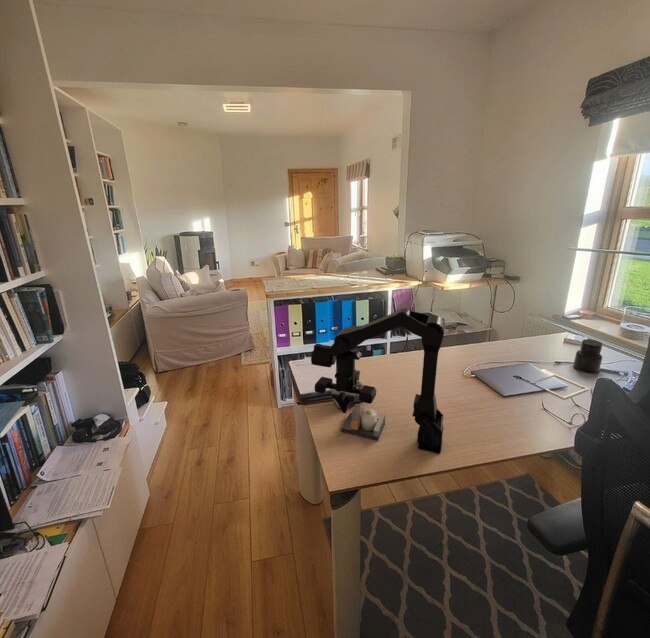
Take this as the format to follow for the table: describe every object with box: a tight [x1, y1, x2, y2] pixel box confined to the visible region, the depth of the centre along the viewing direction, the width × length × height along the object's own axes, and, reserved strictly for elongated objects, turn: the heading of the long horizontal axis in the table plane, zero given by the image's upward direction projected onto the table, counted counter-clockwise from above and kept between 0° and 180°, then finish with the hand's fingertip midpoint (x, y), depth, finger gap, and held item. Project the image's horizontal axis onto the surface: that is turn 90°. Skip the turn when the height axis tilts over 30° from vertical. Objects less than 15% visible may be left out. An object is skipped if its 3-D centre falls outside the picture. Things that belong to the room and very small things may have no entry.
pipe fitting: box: [331, 380, 364, 409], centre depth 126 cm, size 12×8×10 cm
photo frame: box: [540, 368, 590, 400], centre depth 137 cm, size 15×1×18 cm
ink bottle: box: [573, 338, 603, 374], centre depth 146 cm, size 10×9×12 cm
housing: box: [361, 408, 378, 430], centre depth 111 cm, size 5×5×5 cm
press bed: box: [340, 412, 386, 442], centre depth 113 cm, size 12×9×4 cm
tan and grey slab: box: [351, 403, 366, 430], centre depth 112 cm, size 2×8×6 cm, turn 157°
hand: (344, 412), depth 112 cm, fingers closed
